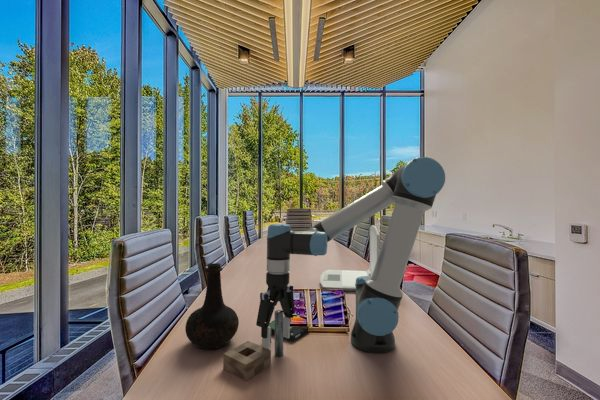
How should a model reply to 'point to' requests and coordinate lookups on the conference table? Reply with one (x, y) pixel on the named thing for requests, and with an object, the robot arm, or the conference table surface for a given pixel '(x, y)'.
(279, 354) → the long pin
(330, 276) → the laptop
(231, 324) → the glass bottle
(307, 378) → the conference table surface
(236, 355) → the socket block
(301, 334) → the disk drive
